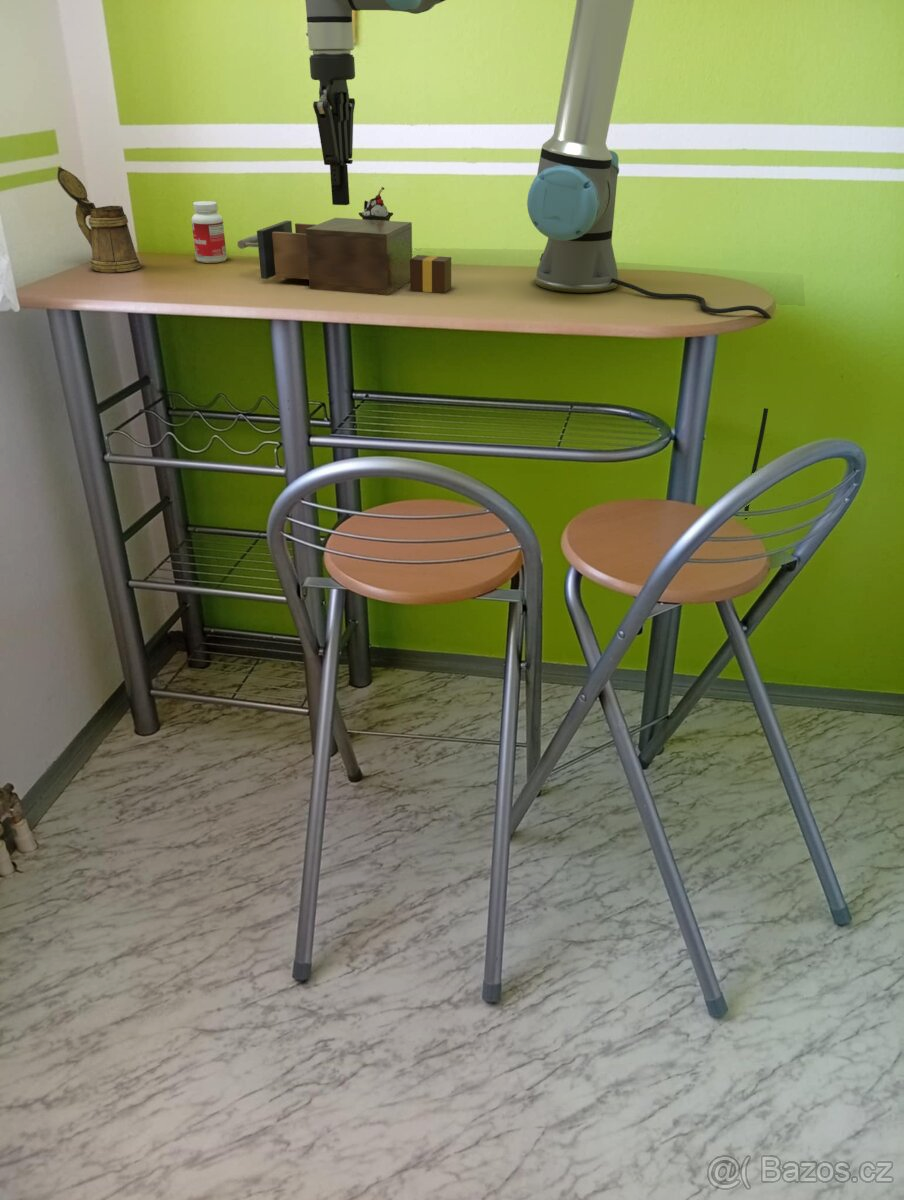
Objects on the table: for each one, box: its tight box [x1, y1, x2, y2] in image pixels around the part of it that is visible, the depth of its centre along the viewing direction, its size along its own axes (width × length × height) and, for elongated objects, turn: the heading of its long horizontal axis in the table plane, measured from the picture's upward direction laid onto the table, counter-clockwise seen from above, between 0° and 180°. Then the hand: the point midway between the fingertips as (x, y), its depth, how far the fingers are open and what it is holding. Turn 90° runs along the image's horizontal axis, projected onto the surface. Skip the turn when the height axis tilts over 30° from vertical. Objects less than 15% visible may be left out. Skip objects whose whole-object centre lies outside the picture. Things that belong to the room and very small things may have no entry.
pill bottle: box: [191, 200, 228, 264], centre depth 191 cm, size 6×6×11 cm
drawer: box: [236, 220, 317, 280], centre depth 177 cm, size 20×12×8 cm, turn 73°
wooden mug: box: [56, 166, 142, 274], centre depth 182 cm, size 9×14×18 cm, turn 76°
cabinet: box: [306, 217, 413, 296], centre depth 174 cm, size 15×13×10 cm
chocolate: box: [409, 254, 452, 294], centre depth 172 cm, size 6×4×6 cm, turn 73°
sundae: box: [358, 186, 394, 221], centre depth 185 cm, size 7×7×15 cm
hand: (341, 204), depth 170 cm, fingers closed
